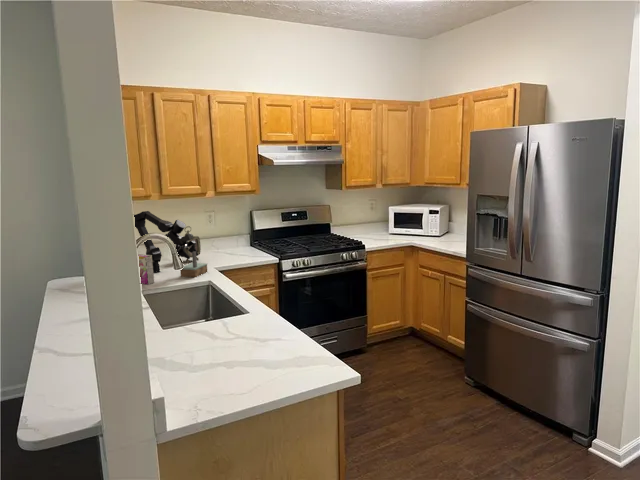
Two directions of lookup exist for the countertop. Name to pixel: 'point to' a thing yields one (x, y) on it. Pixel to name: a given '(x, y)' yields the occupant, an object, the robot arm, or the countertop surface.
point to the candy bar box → (146, 269)
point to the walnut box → (193, 272)
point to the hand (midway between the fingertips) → (193, 256)
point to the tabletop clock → (195, 245)
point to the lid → (194, 263)
